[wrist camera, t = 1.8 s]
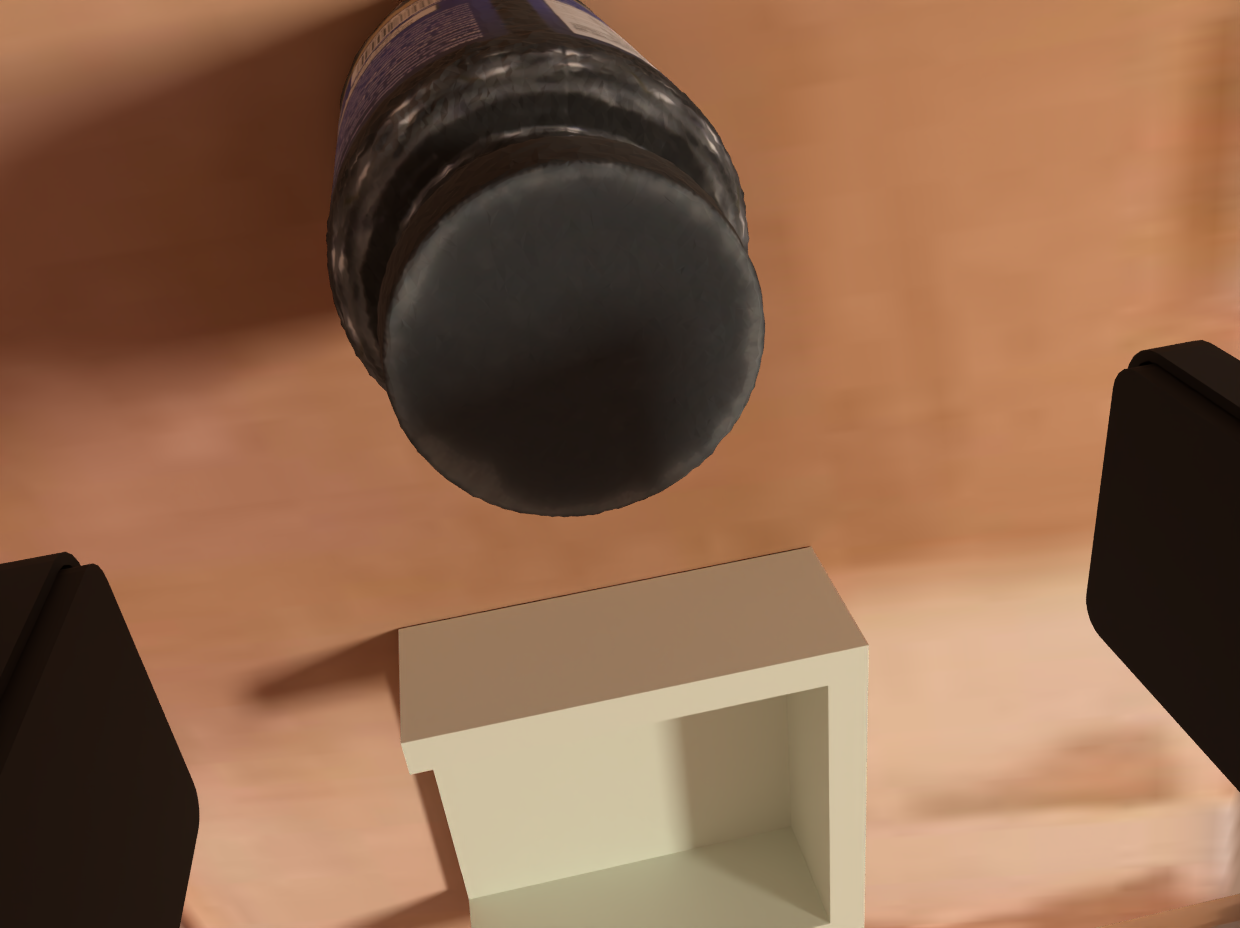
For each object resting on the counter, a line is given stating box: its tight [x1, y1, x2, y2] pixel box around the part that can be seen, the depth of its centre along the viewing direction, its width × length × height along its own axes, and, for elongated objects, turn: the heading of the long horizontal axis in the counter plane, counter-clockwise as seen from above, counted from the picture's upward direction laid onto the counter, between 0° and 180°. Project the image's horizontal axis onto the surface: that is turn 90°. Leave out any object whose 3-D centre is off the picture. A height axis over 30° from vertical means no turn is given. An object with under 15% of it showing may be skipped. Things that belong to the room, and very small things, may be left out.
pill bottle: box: [326, 0, 765, 517], centre depth 18 cm, size 6×6×11 cm
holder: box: [398, 547, 869, 928], centre depth 30 cm, size 11×11×4 cm
